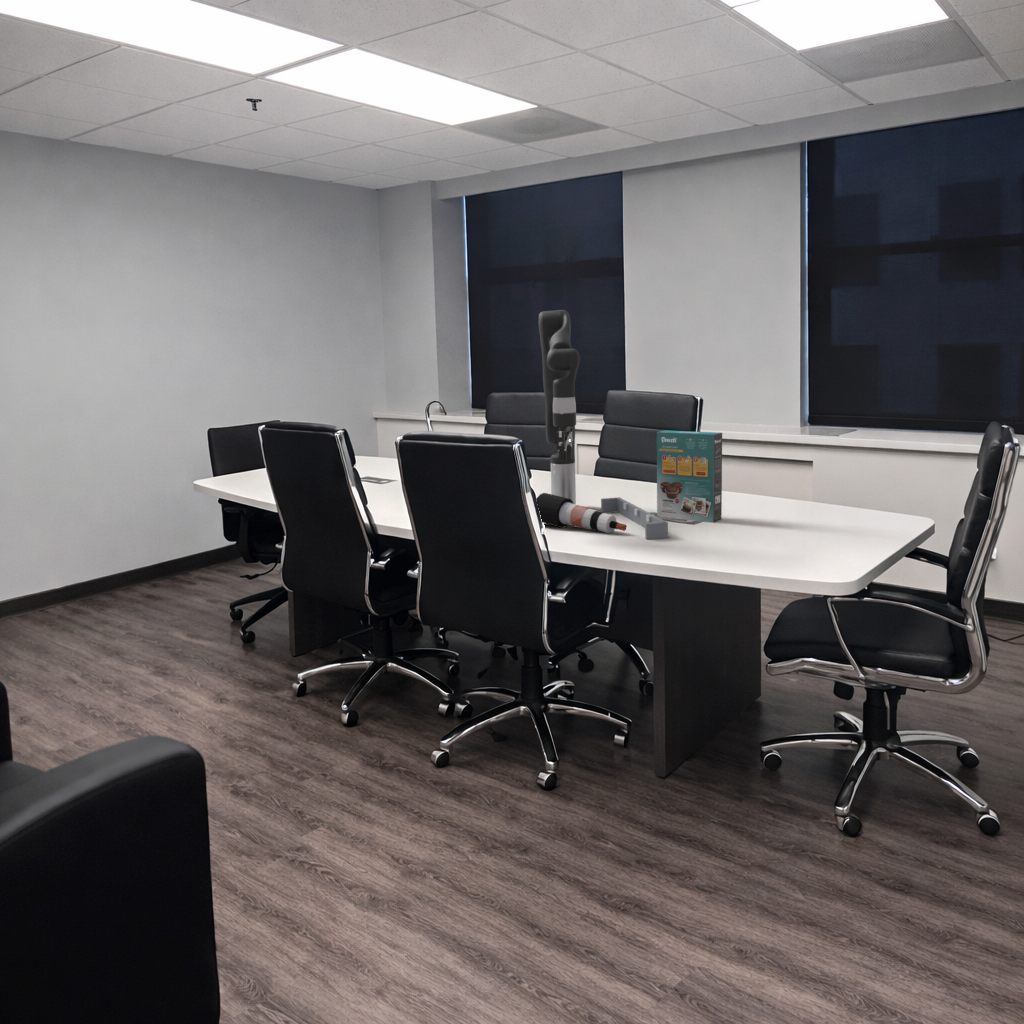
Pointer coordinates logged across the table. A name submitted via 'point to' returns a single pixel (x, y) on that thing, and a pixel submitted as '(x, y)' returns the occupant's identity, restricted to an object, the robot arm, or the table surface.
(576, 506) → the cable
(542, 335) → the robot arm
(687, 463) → the cake mix box
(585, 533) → the table surface
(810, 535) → the table surface
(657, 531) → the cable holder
